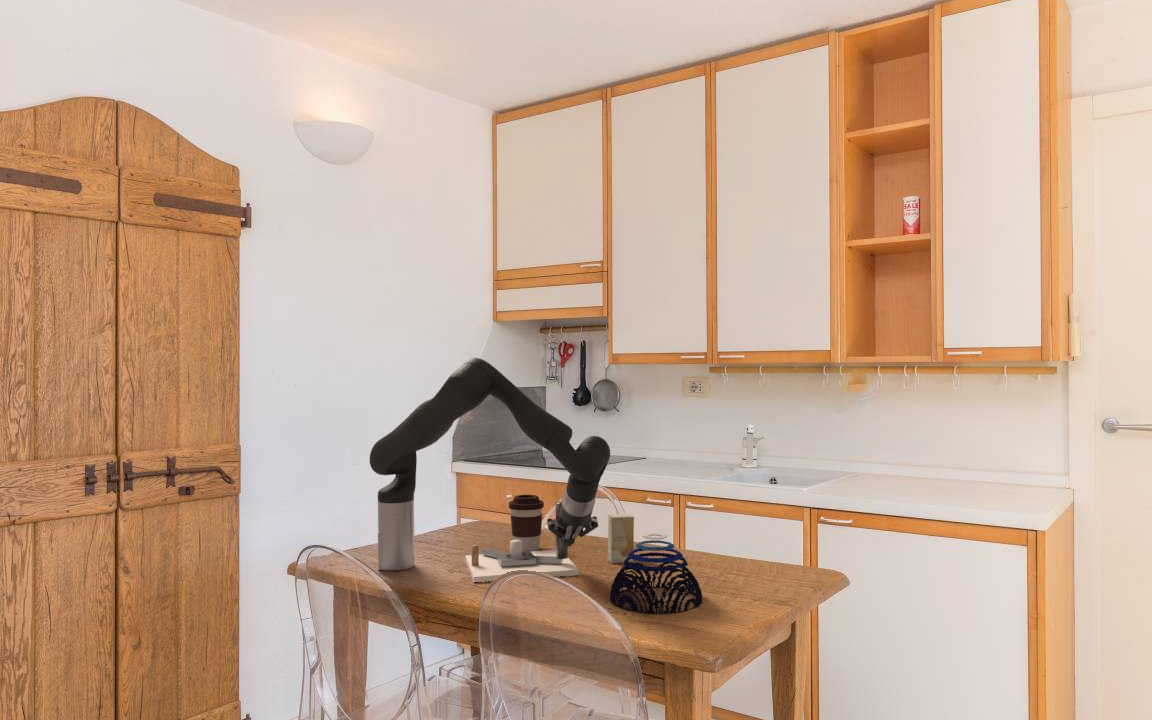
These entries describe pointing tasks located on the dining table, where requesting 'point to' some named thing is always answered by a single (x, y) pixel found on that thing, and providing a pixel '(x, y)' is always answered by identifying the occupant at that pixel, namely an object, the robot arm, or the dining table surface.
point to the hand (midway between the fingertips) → (567, 543)
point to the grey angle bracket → (527, 555)
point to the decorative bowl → (624, 581)
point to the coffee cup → (526, 520)
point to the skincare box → (620, 537)
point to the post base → (490, 568)
